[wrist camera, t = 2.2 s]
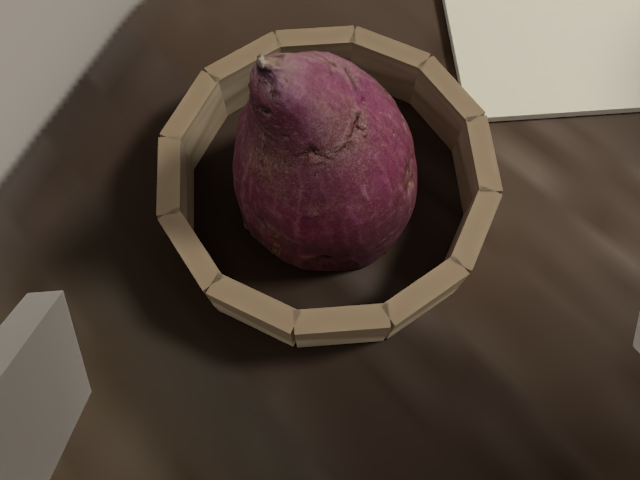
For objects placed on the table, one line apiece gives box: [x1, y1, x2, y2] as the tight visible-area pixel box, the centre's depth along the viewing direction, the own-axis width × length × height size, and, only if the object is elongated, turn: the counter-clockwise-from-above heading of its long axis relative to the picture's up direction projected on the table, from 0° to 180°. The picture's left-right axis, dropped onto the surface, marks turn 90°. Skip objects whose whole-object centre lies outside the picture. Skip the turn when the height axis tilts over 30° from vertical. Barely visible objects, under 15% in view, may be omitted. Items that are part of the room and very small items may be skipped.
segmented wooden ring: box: [156, 26, 503, 348], centre depth 31 cm, size 18×18×4 cm
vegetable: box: [233, 51, 417, 271], centre depth 27 cm, size 10×10×15 cm
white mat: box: [442, 0, 640, 122], centre depth 37 cm, size 14×14×1 cm
